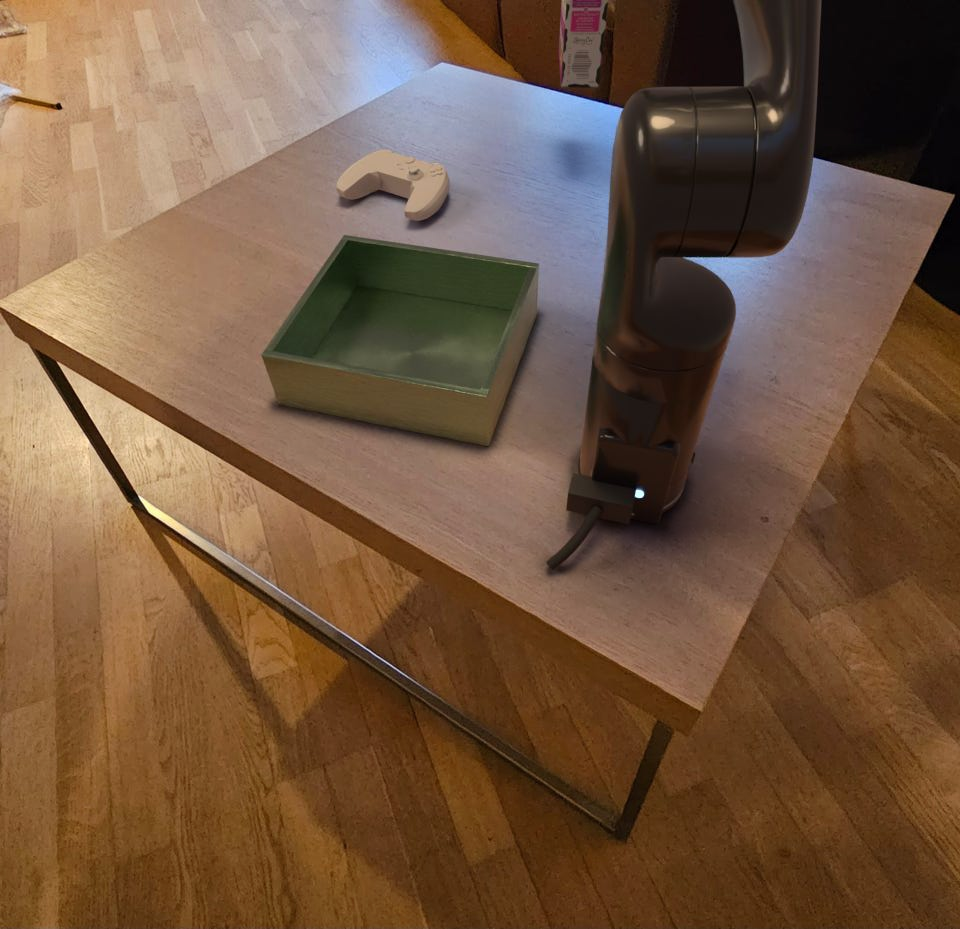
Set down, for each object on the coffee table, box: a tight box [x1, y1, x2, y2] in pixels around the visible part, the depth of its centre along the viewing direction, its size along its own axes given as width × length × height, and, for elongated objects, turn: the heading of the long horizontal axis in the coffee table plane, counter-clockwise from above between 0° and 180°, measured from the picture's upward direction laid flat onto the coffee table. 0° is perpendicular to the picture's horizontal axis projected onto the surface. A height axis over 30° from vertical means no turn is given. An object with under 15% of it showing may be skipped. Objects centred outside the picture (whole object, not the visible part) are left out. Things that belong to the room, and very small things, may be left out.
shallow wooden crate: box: [260, 234, 540, 447], centre depth 72 cm, size 20×22×7 cm
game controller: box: [335, 149, 450, 221], centre depth 92 cm, size 14×4×10 cm
